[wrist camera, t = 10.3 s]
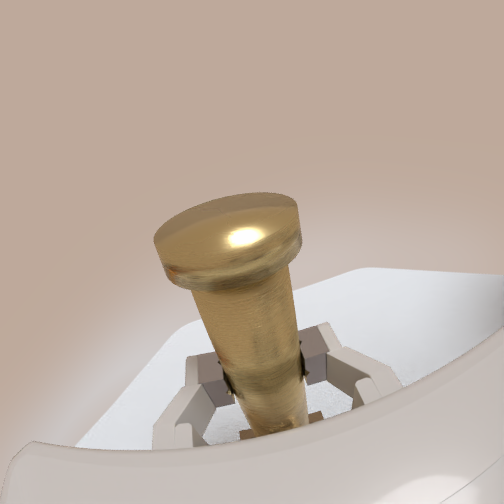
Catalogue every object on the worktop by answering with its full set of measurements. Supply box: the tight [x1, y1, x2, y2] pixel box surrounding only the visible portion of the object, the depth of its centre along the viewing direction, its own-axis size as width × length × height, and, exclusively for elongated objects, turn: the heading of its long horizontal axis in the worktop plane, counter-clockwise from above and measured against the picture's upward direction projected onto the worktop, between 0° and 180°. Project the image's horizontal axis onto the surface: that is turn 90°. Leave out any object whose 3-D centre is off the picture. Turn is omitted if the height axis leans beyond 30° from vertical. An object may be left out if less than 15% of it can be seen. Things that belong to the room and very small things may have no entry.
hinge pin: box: [154, 193, 309, 437], centre depth 11 cm, size 4×4×14 cm
